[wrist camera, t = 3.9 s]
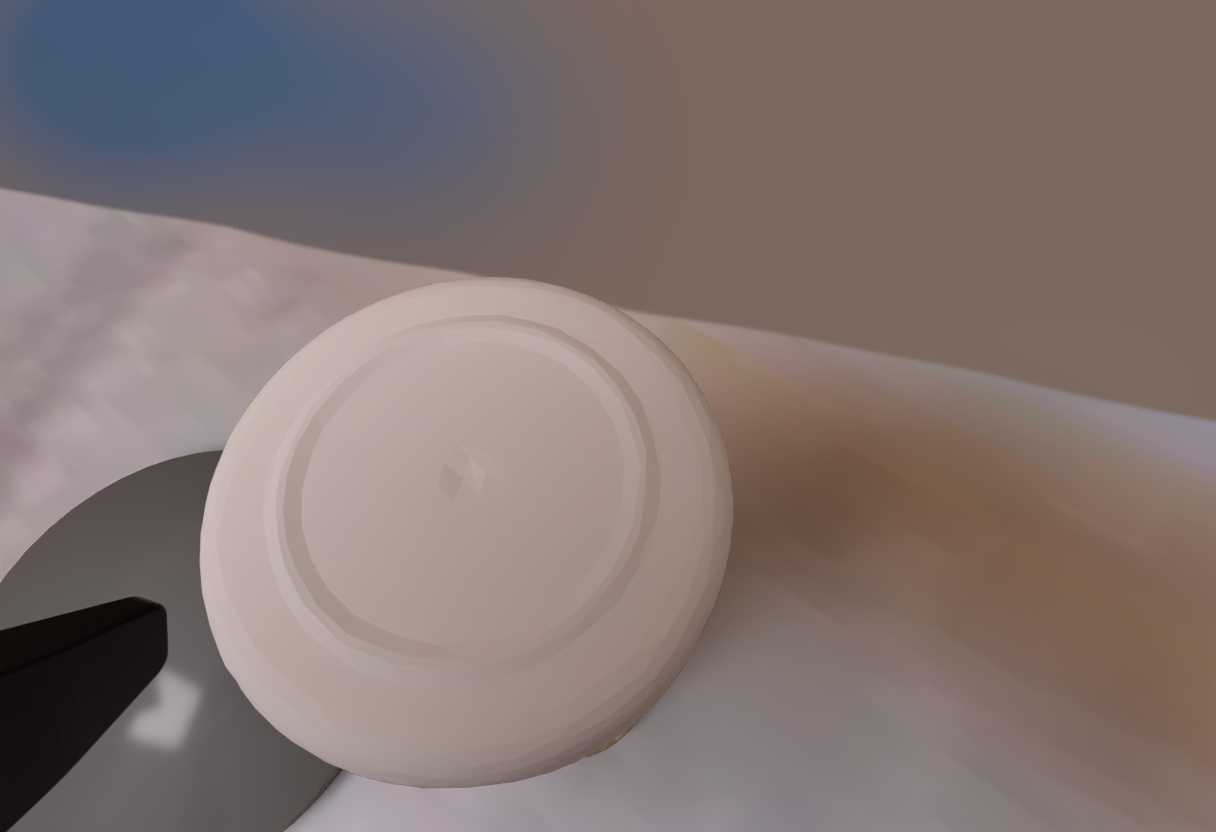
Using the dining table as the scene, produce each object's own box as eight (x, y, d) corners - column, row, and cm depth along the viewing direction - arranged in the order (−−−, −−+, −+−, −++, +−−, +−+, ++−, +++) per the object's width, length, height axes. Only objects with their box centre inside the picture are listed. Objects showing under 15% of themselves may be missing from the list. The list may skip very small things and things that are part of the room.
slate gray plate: (-24, 998, 14) (-57, 1011, 13) (-32, 555, 19) (-58, 547, 18) (451, 750, 16) (443, 750, 16) (338, 408, 21) (328, 395, 20)
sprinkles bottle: (558, 549, 19) (458, 189, 7) (688, 651, 17) (848, 425, 5) (447, 684, 17) (53, 521, 5) (581, 807, 16) (474, 980, 4)
